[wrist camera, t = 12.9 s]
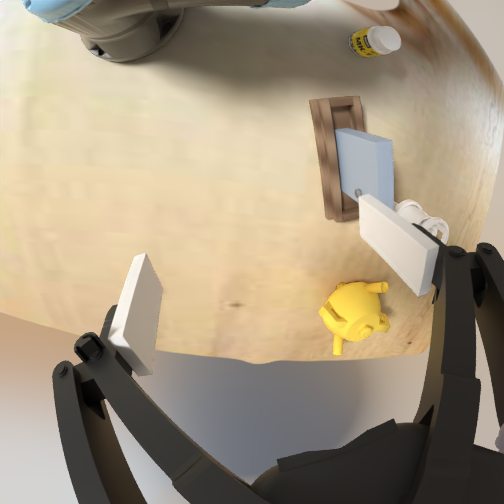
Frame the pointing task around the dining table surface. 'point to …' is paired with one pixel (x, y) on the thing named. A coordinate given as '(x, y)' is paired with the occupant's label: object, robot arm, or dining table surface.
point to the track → (325, 122)
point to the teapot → (354, 312)
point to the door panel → (365, 165)
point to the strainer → (422, 218)
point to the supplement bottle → (374, 41)
